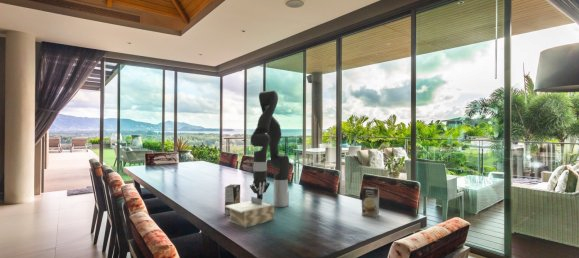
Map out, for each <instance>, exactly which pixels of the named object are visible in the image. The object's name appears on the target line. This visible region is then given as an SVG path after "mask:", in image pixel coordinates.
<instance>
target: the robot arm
mask: <svg viewBox="0 0 579 258" xmlns="http://www.w3.org/2000/svg"><path fill="white" fill-rule="evenodd" d="M258 101H259V105H260V110H261V112H262V114H260V116H259V117H258V120H257V124H256V128H255V129H254V131H253V133H252V135H251V137H250V144H251V145H252V146H253V147H262V148H261V149H260V150H256V151H254V152H253V170H252V171H253V172H252V174H253V175H252V177H253V182H252V184H250V185H249V187H250V188H249V189H251V191H252V192H253V194H256V198H259V199H262V200H263V199H264V197H263V194H264V193H266V192H267V191H268V188H269V187H270V182H268V180H267V178H268V164H267V163H268V162H267V154H268V149H269V155H270V156H269V157H270V163H271V167H273V169H279V171H278V172H277V173H275V174H274V175H273V200H272V201H273V204H272V205H274V208H285V207H287V206H289V203H290V198H289V197H290V194H289V193H290V191H289V189H288V187H289V185H288V184H289V174H290V158H289V156H288V155H286V154H281V153H279V144H280V141H281V138H282V130H281V125H280V123H279V121H278V120H277V119H276V118H275V117H274V115H273V114H274V112H275V110H276V107H277V105H278V103H279V102H278V101H279V96H278V92H277V91H276V90H264V91H260V92H259V94H258Z"/></svg>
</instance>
